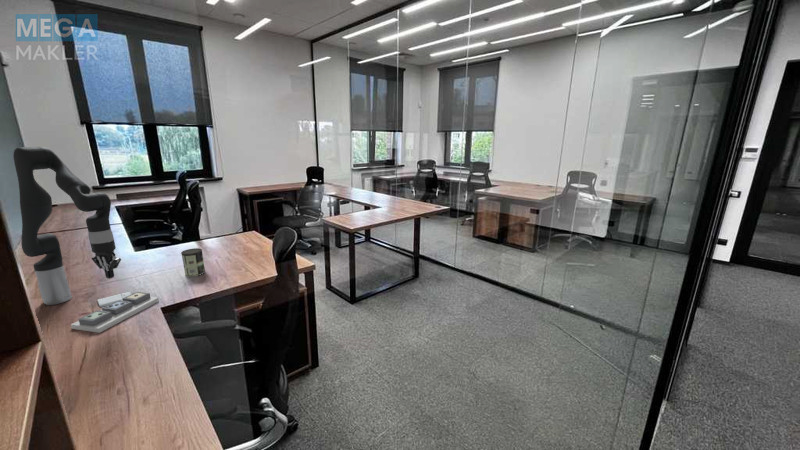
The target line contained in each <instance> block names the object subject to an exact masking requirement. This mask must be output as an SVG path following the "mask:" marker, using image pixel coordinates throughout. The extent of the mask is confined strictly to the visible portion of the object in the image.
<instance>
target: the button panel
mask: <svg viewBox="0 0 800 450" xmlns="http://www.w3.org/2000/svg"><path fill="white" fill-rule="evenodd" d="M135 293H142V294H145V295H143V296H141V297H139V298H137V299H130V298H127V297H129V296H131V295H133V294H135ZM131 295H129V296H127V297H124V298H122V301H120V300H118V301H116V302H124V303H126V304H124V305H122V306H120V307H118V308H116V309H114V308H106V307H108V306H110V305H112V304H114V303H116V302H114V303H112V304H109V305H106V306H103V307H101V310H100V309H99V310H98V309H96V310H94V311H92V312H90V313H87V314H86V315H84V316H81V317H79V318H78V320H77V321H75V322H73V323H71V324H70V327H71V329H73V330H77V331H78V330H79V331H84V332H91V333H97V334H98V333H102V332H104V331H106V330H108V329H109V328H111V327H114V326H115V325H117V324H118V323H121V322H122V321H125V320H127V319H128V318H130V317H132V316H134V315H136V314H138V313H140V312H142V311H143V310H145V309H147V308H149V307H151V306H153V305H154V304H155V305H156V303H159V302H160V300H159V297H156V296H151V294H150V292H145V291H143V292H142V291H135V292H133V293H131ZM95 312H103V313H106V314H104V315H102V316H100V317H98V318H96V319H93V320H92V319H85V318H84V317H86V316H88V315H91V314H93V313H95Z"/></svg>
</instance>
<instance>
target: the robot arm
mask: <svg viewBox="0 0 800 450" xmlns="http://www.w3.org/2000/svg"><path fill="white" fill-rule="evenodd" d="M13 162H14V167H15V171H16V177H17V183H18V191H19V209H20V214H21V227H22V228H21V241H20V242H21V249H22V252H23V254H24V255H25V256H27V257H30V258H35V257H39V256H43V255H45V256H44V257H43V258H42V259H40V260H38V261H37V262H35V263H34V264H33V269H34V273H35V276H36V280H37V282H38V285H37V286H38V289H39V292H40V296H41V299H42V302H43V303H44V305H45V304H46V306H52V305H57V304H63V303H64V302H65V303H66V302H68V301H69V300H71V299H72V298H73V296H72V293H71V290H70V289H71V288H70V286H69V282H68V277H67V274H66V270H65V267H64V263H63V256H62V255H63V254H62V249H61V244H60V241H59V239H58V237H57V235H55V234H54V233H50V232H49V233H43V234H38V233H39V230H40V228H41V227H42V226H43V225H44V223H45V222H46V221H47V219H49V217H50V216H51V214H52V212H53V200H52V199H53V198H52V196H51V195H50V193H49V192H48V191H47V190H46V189H44V188H43V186H41V185H40V183H38V182H37V181H36V179H35V176H34V170H35V171H38V170H48V169H50V170H52V171H53V172H54V173H55V183H56V185H57V187H58V188H59V189H60V190H62V191H63V192H64V193H65V194H67V195H68V196H69V197H70V199H71V200H72V202H73V203H74V205H75V207H76V209H78V210H80V211H82V212H86V213H88V212H89V213H90V212H94V211H95V214H92V215H91V216H88V217H87V218H86V219H85V223H86V228H87V232H88V240H89V244H90V248H91V252H92V253H94V256H93V257H91V261H93V263H94V264H95V265H96V266H97V267H98V268H99V269H100V270H101V269H102V271H103V272H104V276H105V277H106V279H109V280H110V279H113V278H115V273H114V269H117V268H118V267H119V265H120V263H121V261H122V259H121V258H120V257H116V253H115V250H116V249H117V247H116V243H115V238H114V234H113V233H114V232H113V231H112V227H111V225H110V224H111V223H110V216H111V215H110V212H111V207H112V202H111V198H110V197H109V195H107V194H106V193H104V192H93V193H91V188H90V186H89V185H88V184H86V183H85V182H84V181H83V180H81V179H80V178H79V177H78V176H76V175H75V174H74V172H72V171H71V170H70V169H69V168H68V167H67V165H66V164H65V163H64V161H62V159H61V158H60V157H59V156H58V154H56V153H55V152H54V151H52V150H51V149H50V148H48V147H46V146H22V147H16V148H15V149H14V150H13Z"/></svg>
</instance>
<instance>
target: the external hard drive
mask: <svg viewBox="0 0 800 450" xmlns="http://www.w3.org/2000/svg"><path fill="white" fill-rule="evenodd" d="M131 294H132V292H131V291H127V292H124V293H119V294H114V295H112V296H111V295H110V296H106V297H103V298H98V299H97V300H96V301H97V304H98V306H99V308H103V307H105V306H107V305H109V304H112V303H114V302H116V301H118V300H120V301H122V298H124V297H127V296H129V295H131Z"/></svg>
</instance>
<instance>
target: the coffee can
mask: <svg viewBox="0 0 800 450" xmlns="http://www.w3.org/2000/svg"><path fill="white" fill-rule="evenodd" d="M180 255H181V257H182V264H183V268H184V275H185V277H187V278H194V277H193V276H195V277H199V276H198V275H200V276H202V275H204V274H205V273H206V268H205V263H204V262H205V260H204V256H203V249H202V248H200V247H199V248H195V247H194V248H188V249H185V250H182V251H181V253H180ZM204 272H205V273H204ZM203 273H204V274H203ZM201 274H202V275H201Z"/></svg>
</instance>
